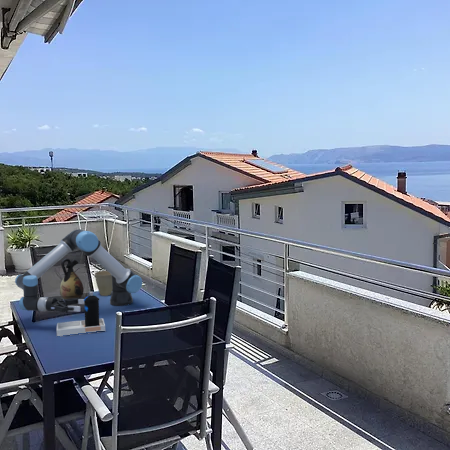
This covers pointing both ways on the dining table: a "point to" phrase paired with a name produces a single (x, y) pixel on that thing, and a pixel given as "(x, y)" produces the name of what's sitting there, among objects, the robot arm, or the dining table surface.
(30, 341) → the dining table surface
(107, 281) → the plant pot
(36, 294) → the robot arm
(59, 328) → the tray
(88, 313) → the aerosol can
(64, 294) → the ceramic jug
